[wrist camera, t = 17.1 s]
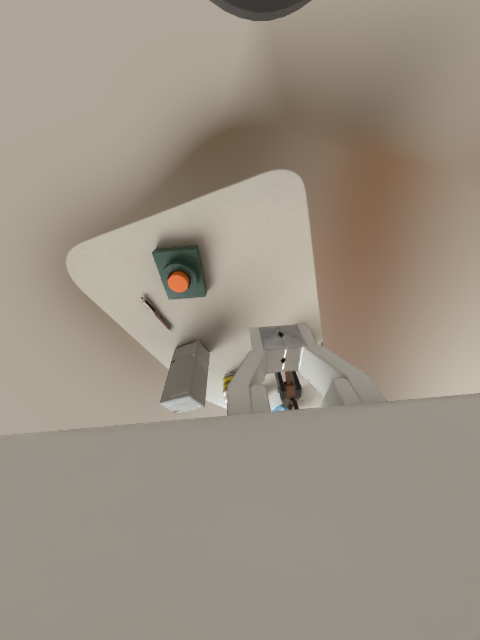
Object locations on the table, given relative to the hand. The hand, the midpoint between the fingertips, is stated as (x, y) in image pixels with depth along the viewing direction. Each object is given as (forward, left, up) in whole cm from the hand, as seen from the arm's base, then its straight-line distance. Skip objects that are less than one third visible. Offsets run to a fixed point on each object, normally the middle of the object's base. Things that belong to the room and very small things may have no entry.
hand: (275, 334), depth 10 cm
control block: (+12, -9, -29) cm, 33 cm away
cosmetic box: (+36, -4, -29) cm, 47 cm away
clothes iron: (+56, +37, -29) cm, 73 cm away
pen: (+24, -14, -29) cm, 40 cm away
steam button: (+12, -9, -25) cm, 30 cm away
